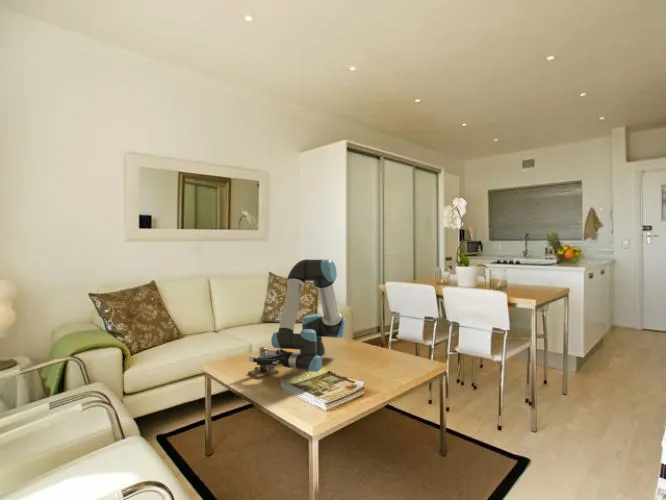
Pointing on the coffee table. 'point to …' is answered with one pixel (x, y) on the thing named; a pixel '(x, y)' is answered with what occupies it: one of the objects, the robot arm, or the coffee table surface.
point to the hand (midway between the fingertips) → (257, 354)
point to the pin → (263, 355)
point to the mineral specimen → (271, 356)
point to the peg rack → (258, 374)
